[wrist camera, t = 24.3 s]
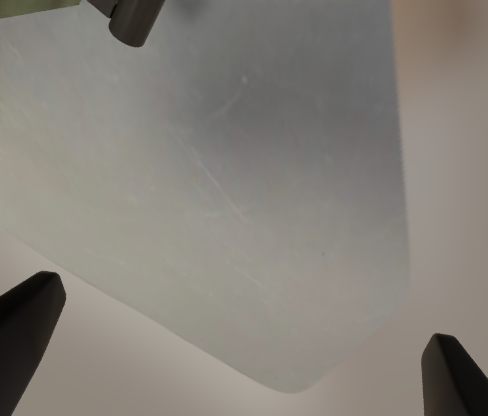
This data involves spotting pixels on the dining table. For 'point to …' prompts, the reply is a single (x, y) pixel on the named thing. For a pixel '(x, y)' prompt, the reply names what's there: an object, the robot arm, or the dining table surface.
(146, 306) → the dining table surface
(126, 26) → the drawer
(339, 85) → the dining table surface
